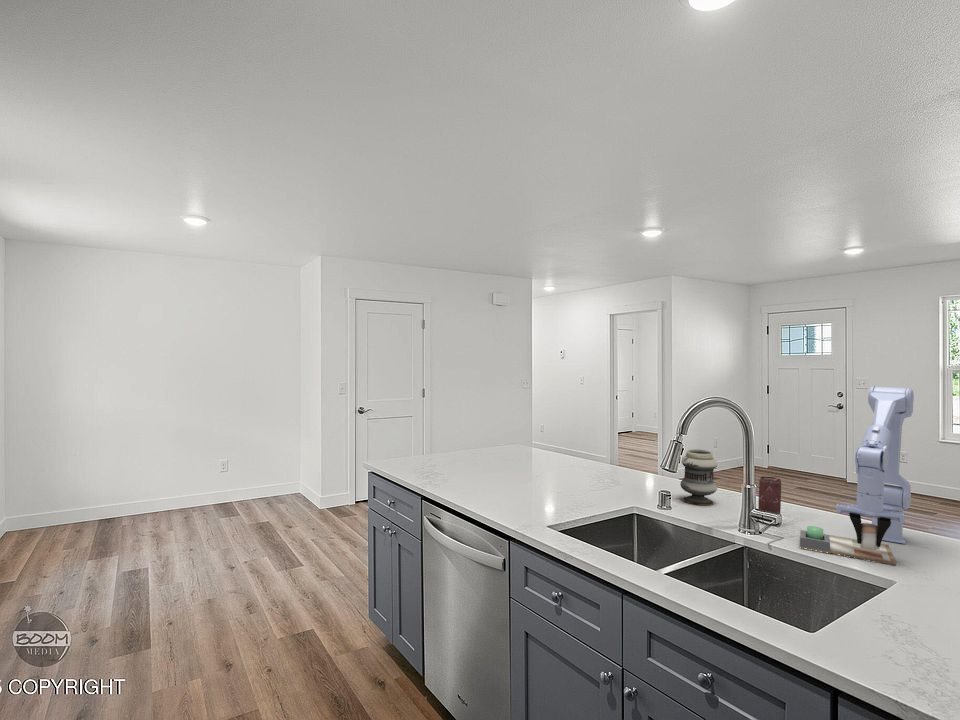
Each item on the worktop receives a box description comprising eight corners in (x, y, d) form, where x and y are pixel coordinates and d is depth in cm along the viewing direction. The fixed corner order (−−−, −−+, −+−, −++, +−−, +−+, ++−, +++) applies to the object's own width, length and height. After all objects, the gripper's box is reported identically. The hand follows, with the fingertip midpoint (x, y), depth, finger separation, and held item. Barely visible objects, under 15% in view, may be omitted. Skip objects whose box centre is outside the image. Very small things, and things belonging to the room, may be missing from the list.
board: (800, 532, 162) (800, 529, 162) (888, 546, 151) (888, 543, 151) (799, 548, 148) (799, 545, 148) (895, 565, 137) (896, 562, 137)
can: (785, 525, 168) (786, 480, 168) (766, 526, 167) (768, 480, 167) (771, 519, 174) (773, 475, 174) (753, 519, 173) (755, 476, 173)
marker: (858, 544, 146) (859, 522, 146) (875, 546, 144) (876, 524, 144) (861, 548, 143) (861, 526, 142) (878, 551, 141) (879, 528, 141)
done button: (806, 536, 152) (807, 525, 152) (822, 538, 150) (823, 527, 150) (806, 539, 149) (807, 529, 149) (823, 542, 147) (823, 531, 147)
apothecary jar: (678, 503, 190) (679, 452, 189) (681, 495, 201) (683, 446, 200) (716, 508, 185) (717, 455, 184) (717, 499, 195) (718, 450, 195)
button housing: (800, 539, 154) (800, 530, 154) (828, 543, 150) (829, 535, 150) (800, 546, 148) (800, 537, 148) (829, 551, 145) (830, 542, 145)
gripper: (837, 491, 143) (836, 542, 144) (907, 500, 136) (905, 554, 136) (836, 486, 149) (835, 535, 150) (903, 494, 142) (901, 546, 142)
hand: (868, 544), depth 143 cm, fingers closed on marker, 3 cm apart
